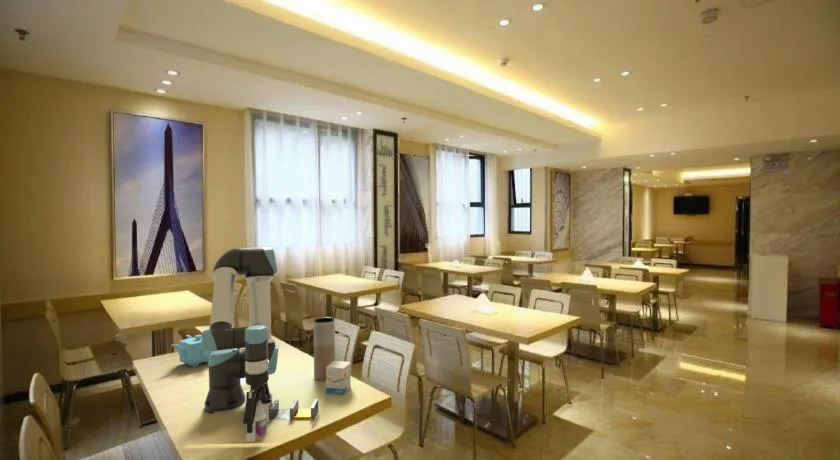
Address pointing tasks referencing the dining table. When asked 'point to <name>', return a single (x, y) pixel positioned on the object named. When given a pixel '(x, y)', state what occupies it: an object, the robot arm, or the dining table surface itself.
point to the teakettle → (192, 351)
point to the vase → (323, 346)
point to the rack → (293, 411)
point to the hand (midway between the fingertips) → (258, 431)
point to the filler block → (268, 403)
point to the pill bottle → (260, 422)
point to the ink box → (338, 377)
